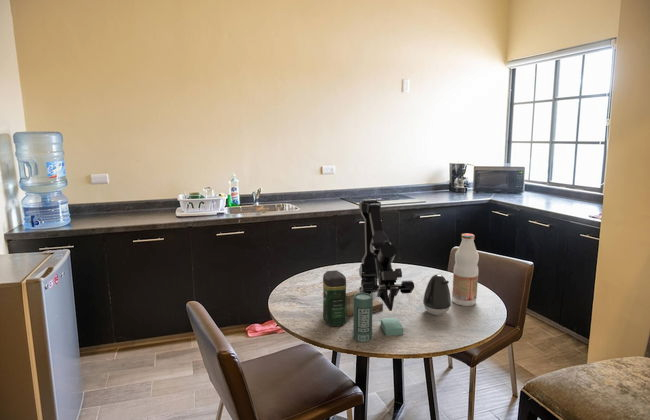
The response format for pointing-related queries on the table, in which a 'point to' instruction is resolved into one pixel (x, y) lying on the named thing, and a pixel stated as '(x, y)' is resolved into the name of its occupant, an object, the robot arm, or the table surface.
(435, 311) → the dark rounded piece
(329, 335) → the table surface
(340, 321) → the coffee jar
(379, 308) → the brown wooden block
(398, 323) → the mint green block
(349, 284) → the table surface
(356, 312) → the can
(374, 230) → the robot arm
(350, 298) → the tan wooden block
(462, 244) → the fruit juice
